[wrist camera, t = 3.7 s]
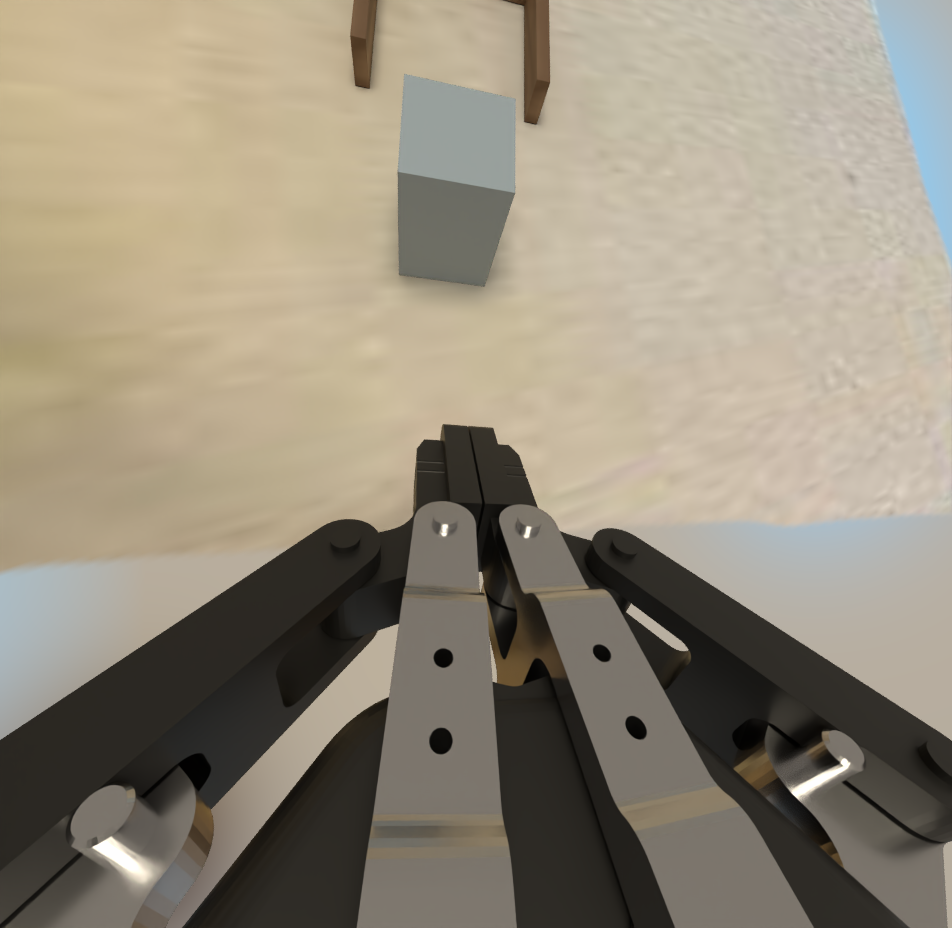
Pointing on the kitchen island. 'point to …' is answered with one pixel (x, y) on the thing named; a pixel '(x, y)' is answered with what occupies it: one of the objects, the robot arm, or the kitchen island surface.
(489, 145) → the slate block
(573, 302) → the kitchen island surface
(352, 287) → the kitchen island surface
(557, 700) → the robot arm
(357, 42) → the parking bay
